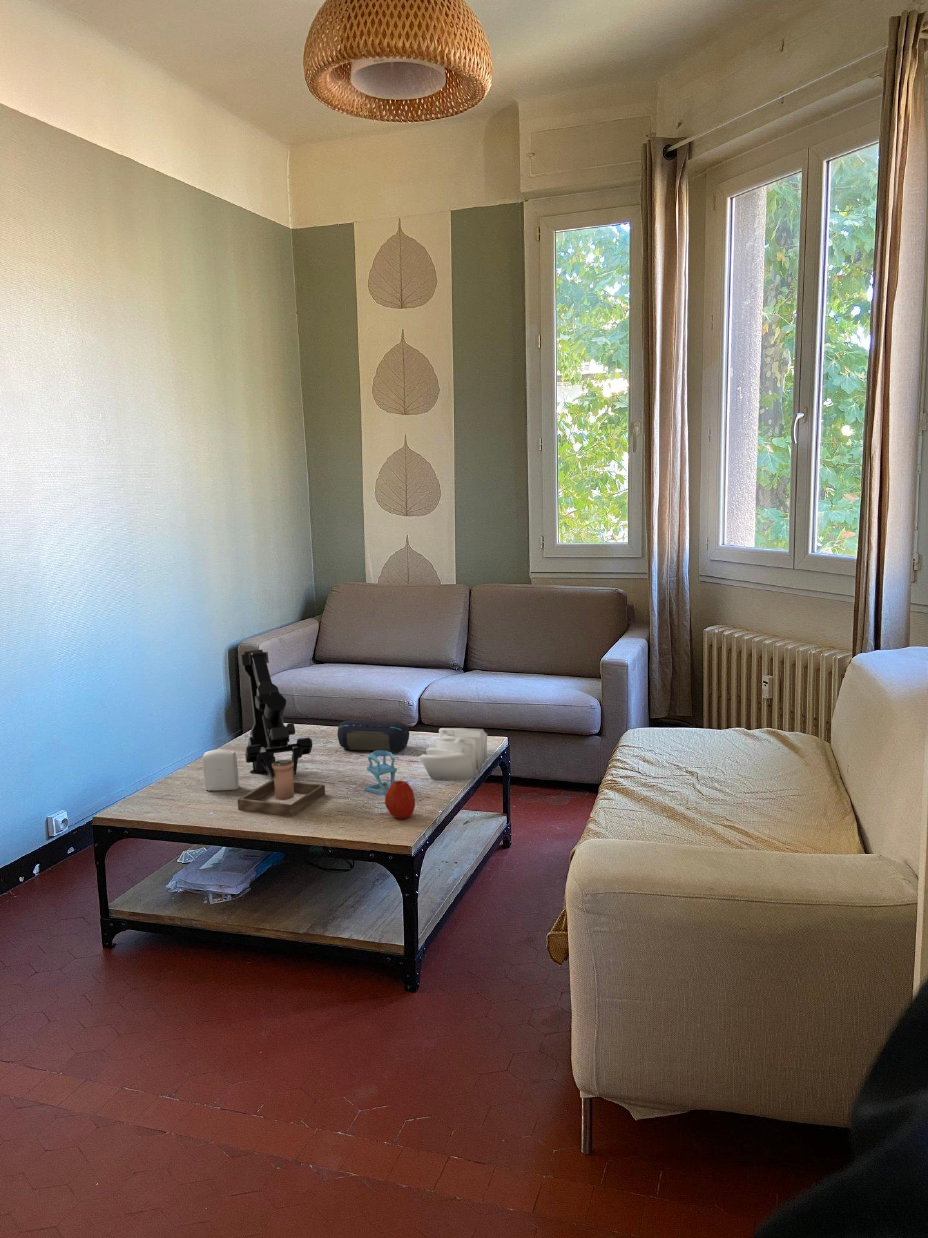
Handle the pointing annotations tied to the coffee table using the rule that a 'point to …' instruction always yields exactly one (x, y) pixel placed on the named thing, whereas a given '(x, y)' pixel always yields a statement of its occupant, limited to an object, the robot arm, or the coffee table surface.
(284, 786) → the terracotta pot
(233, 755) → the photo printer
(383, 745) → the portable speaker
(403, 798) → the apple
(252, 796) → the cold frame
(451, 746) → the white wavy slab sculpture
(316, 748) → the coffee table surface
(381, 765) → the chair
